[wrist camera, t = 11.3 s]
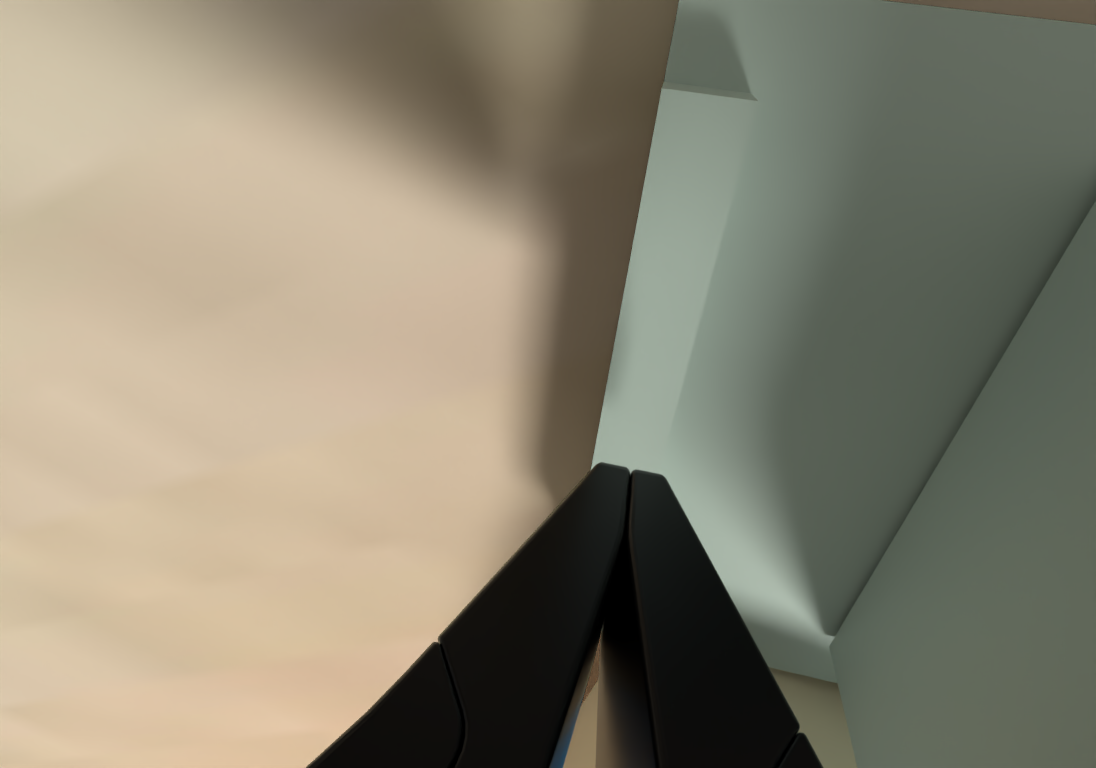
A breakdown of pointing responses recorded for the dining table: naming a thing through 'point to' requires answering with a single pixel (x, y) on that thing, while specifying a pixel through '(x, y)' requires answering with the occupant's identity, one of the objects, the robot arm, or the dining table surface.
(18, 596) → the dining table surface
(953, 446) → the jaw
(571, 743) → the book
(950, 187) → the vise
